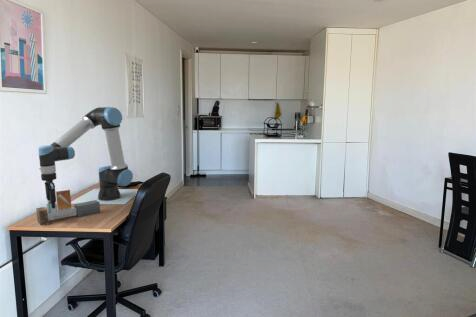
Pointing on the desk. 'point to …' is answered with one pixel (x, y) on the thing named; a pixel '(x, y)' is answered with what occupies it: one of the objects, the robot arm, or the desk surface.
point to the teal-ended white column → (61, 212)
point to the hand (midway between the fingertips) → (52, 212)
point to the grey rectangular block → (87, 208)
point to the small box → (63, 198)
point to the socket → (42, 215)
